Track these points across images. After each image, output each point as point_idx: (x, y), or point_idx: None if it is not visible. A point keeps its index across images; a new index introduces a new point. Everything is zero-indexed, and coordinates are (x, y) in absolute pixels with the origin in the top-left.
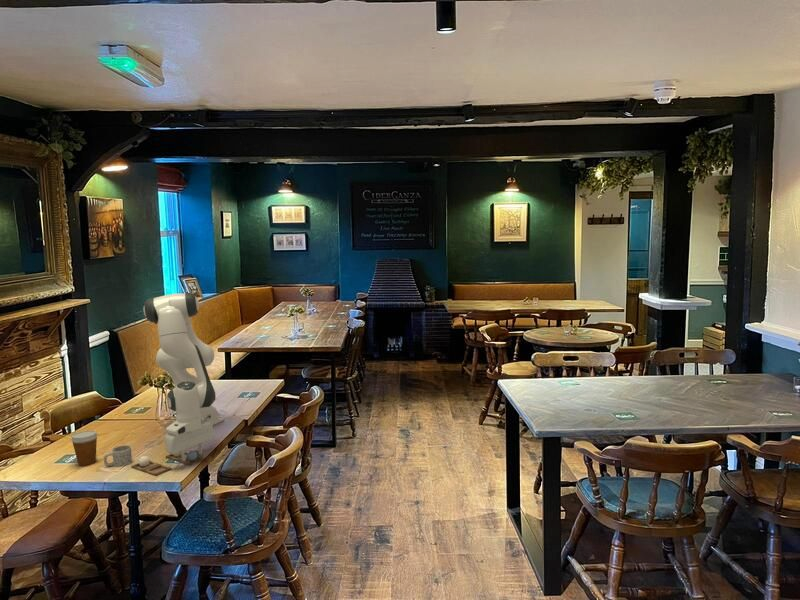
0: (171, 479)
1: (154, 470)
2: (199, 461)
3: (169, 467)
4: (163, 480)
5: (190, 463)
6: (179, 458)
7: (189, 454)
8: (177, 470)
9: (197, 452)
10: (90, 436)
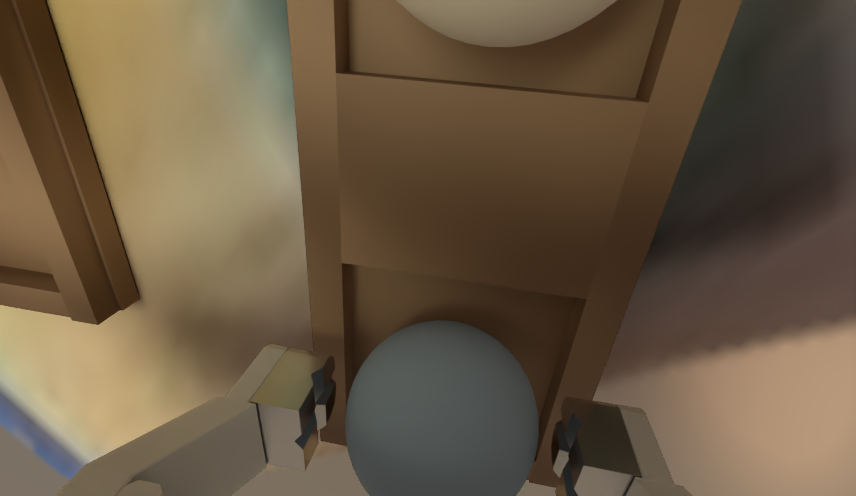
0: (70, 415)
1: None
2: None
3: (75, 288)
4: (4, 371)
5: (327, 433)
6: (359, 146)
7: (356, 470)
8: (192, 335)
9: (570, 462)
10: None
